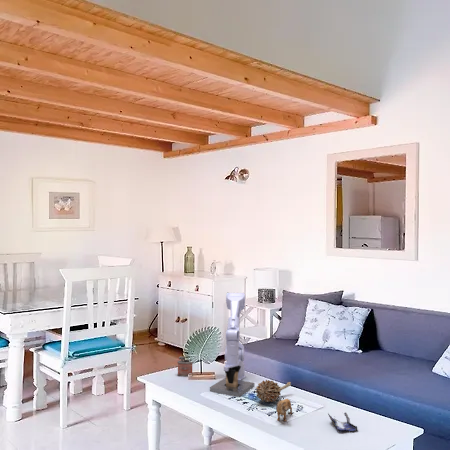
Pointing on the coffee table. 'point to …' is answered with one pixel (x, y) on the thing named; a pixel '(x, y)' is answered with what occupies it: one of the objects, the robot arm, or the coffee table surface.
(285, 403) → the lion figurine
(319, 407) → the coffee table surface
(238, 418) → the coffee table surface
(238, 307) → the robot arm
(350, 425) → the blue pointed piece
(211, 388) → the collar plate
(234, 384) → the tan cardboard box
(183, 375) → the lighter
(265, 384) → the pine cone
